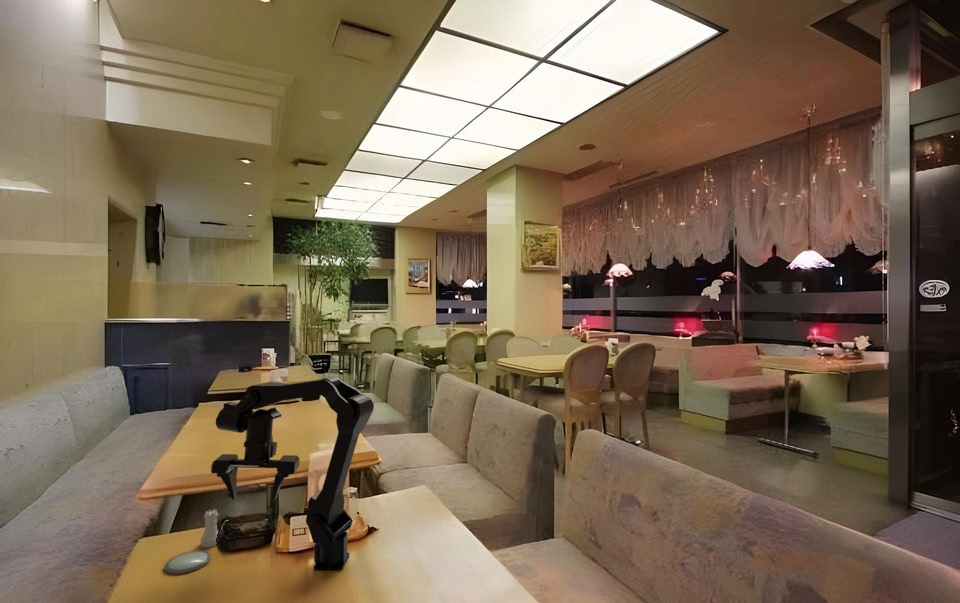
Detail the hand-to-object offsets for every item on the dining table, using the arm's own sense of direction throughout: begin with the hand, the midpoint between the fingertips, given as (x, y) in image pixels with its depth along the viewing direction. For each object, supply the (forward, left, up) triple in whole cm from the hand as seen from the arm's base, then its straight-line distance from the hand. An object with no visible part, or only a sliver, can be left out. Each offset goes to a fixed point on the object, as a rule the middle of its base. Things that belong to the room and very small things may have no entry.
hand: (254, 499), depth 111 cm
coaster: (+12, +5, -13) cm, 18 cm away
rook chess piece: (+12, -4, -13) cm, 18 cm away
